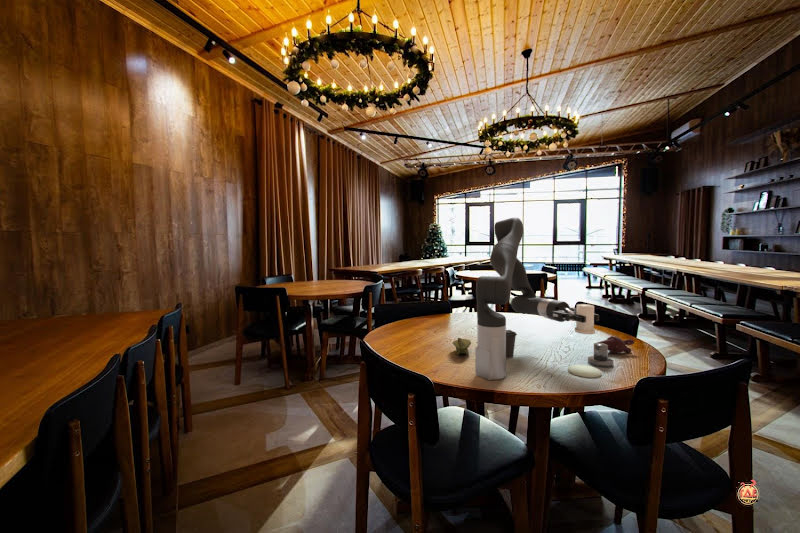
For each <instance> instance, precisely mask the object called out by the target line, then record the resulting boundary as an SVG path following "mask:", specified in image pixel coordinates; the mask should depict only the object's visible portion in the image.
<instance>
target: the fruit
mask: <svg viewBox="0 0 800 533" xmlns="http://www.w3.org/2000/svg"><path fill="white" fill-rule="evenodd" d="M452 344H453V345H454V347H455V352H457V353H456V356H458V355H461V354H465V355H467V356H470V353H469V349H468V348H470V346H471V344H472V342H471V340H470V339H465V338H461V337H458V338H457V339H455V340H454V341H452Z"/></svg>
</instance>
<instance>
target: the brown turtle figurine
mask: <svg viewBox="0 0 800 533" xmlns="http://www.w3.org/2000/svg"><path fill="white" fill-rule="evenodd" d="M596 343H604V344H607V345H608V351H609V353H610V354H612V355H615V354H621V353H623V352H624V353H626V352H629V353H632V349H631V348H630V347H628V346H630V345H631V346H632V345H634V344H635V341H634V340H633V339H631V338H630V339H629V338H628V339H625V340H623V339H622V338H620V337H617V336H613V335H611V336H610V337H608V338H606V339H605V340H601V341H597V342H596Z"/></svg>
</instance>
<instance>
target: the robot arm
mask: <svg viewBox="0 0 800 533" xmlns="http://www.w3.org/2000/svg"><path fill="white" fill-rule="evenodd" d="M493 228H494V234H495V237H496V238H495V239H496V243H495V245H494V247H493V248H492V250H491V254H490V258H489V262H490V265H491V267H492V269H493V270H494V271H495V272H496V273H497V274H498V275H499V276H495V275H494V276H493V275H492V276H485V275H484V276H483V275H481V276H479V277H478V278H477V280H476V283H475V284H476V285H475V294H476V295H475V296H476V298H475V299H476V320H477V321H476V322H477V336H476V338H477V339H476V340H477V345H476V347H475V349H474V350H475V358H474V359H475V363H474V364H475V368H474V369H475V371H474V372H475V376H477V377H480V378H482V379H485V380H488V381H491V380H495V381H496V380H502V379H505V378H506V376H507V374H506V373H507V364H506V363H507V358H506V330H507V318H506V316H505V315H504V314H502V313H500V312H497V311H494V310H493V309H492V308H491V307H490V306H489V305H506V304H507V303H508V302H509V301H510V298H511V292H512V290H514V291H520V292H521V293H522V294H520V295H516V296H514V297H513V298H511V302H510V306H511V308H512V309H513V311H515V312H516V313H518V314H521V315H537V316H538V317H543V318H544V319H547V320H548V319H549V320H551V321H555V322H558V323H563V322H570V321H572V322H576V321H578V322H582V323H585V322H586V316H583V315H579V314H577V307H571V306H570V305H569V304H568V303H567V302H565V301H561V300H557V299H552V298H544V297H540V296H539V297H537V296H536V294H535V292H534V290H533V288H532V287H531V284H530V282H529V280H528V274H527V270H526V268H525V266H524V264H523V263H522V261H520V259H519V258H518V257H517V256H518V251H519V246H520V243H521V240H522V238H523V236H524V224H523V222H522V220H521V219H520V218H519V217H509V218H506V219H502V220H499V221H496V222H495V223H494V227H493ZM595 321H596V322H599V321H600V314H597V313H594V322H595Z"/></svg>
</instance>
